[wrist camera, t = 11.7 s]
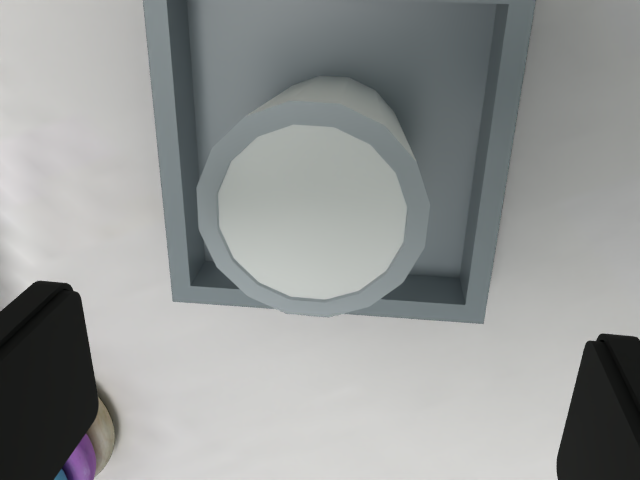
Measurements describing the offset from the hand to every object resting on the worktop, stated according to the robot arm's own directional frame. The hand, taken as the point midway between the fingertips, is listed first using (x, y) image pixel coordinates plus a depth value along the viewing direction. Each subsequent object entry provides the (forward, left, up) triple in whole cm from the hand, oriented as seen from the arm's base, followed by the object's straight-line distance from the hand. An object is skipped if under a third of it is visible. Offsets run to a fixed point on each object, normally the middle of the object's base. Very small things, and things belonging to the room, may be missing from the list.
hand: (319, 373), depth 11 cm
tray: (+1, 0, -15) cm, 15 cm away
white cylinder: (+1, 0, -14) cm, 14 cm away
